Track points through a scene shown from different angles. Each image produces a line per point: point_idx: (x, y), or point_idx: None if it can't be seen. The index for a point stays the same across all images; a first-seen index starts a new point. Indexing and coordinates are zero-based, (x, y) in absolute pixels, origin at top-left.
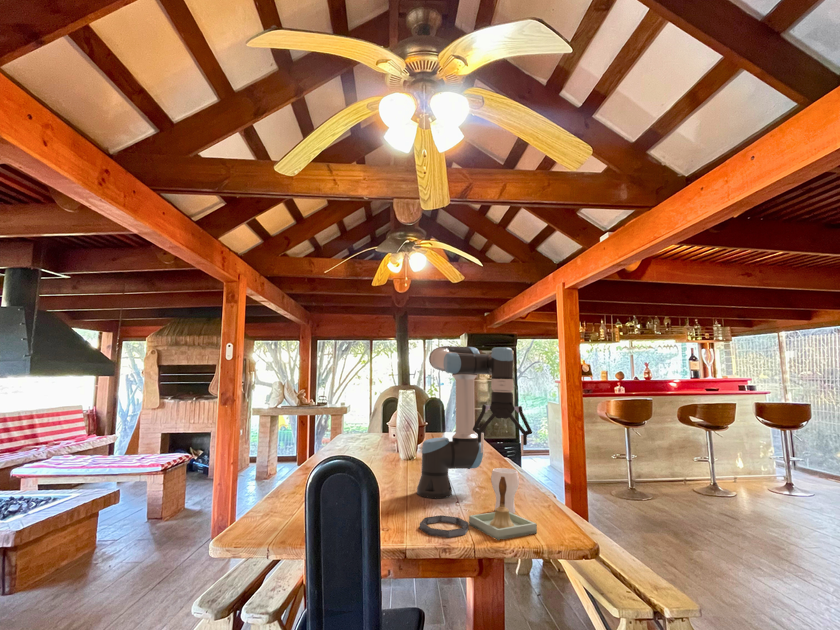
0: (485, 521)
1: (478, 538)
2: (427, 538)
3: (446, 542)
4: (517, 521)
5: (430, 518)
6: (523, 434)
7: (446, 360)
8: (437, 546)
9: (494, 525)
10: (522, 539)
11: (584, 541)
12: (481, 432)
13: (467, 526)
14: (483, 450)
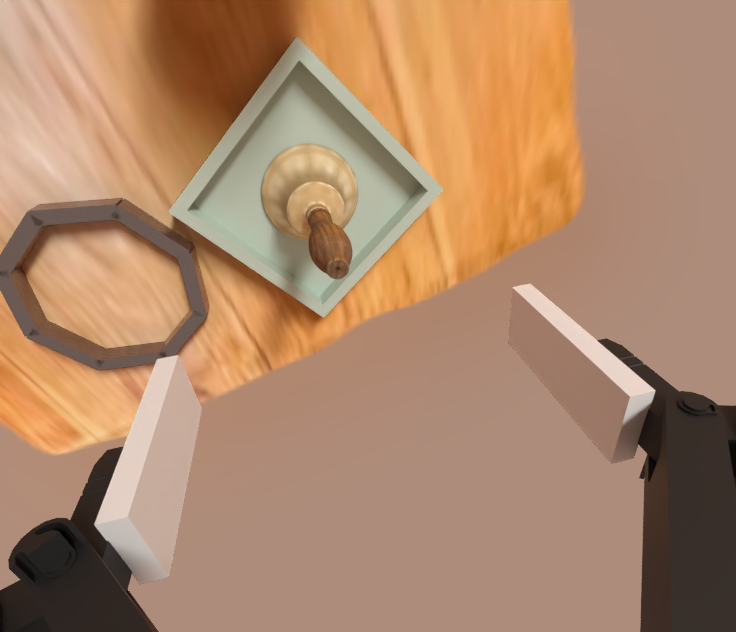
0: (233, 170)
1: (260, 313)
2: (119, 381)
3: None
4: (362, 125)
5: (16, 265)
6: (647, 467)
7: None
8: None
9: (290, 235)
10: (389, 260)
11: (572, 190)
12: (117, 566)
13: (197, 274)
14: (183, 383)
